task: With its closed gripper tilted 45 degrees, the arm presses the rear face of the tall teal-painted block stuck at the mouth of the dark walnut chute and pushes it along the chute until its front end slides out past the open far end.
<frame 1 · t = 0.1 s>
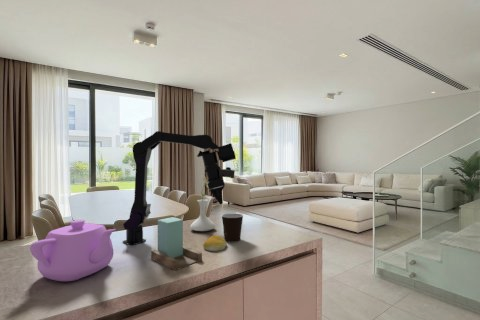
hand: (221, 202, 107), 15 cm above the counter, tool pointing down, fingers open, 9 cm apart
walnut chute: (176, 259, 86), on the counter
coffee mug: (233, 239, 108), on the counter
teapot: (79, 272, 77), on the counter
teal block: (170, 237, 88), point 6 cm above the counter, slide at 0.0 cm
bread roll: (214, 248, 98), on the counter
flower in vase: (202, 229, 122), on the counter
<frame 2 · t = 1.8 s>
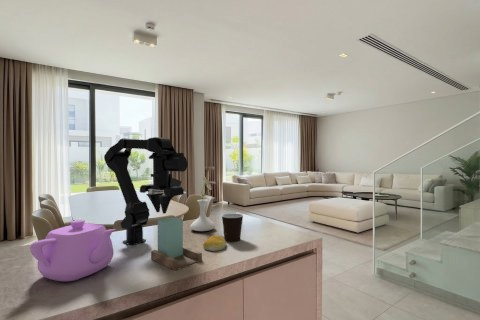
hand: (161, 212, 97), 13 cm above the counter, tool pointing down, fingers open, 3 cm apart
nothing on the counter moved.
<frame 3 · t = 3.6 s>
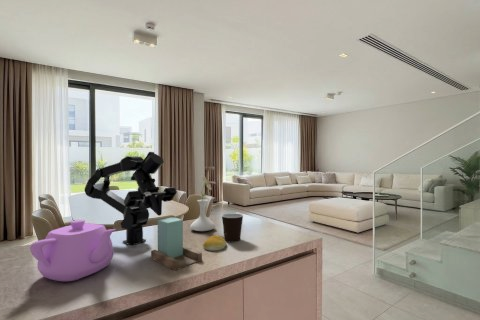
hand: (160, 214, 93), 13 cm above the counter, tool tilted 45°, fingers closed
nothing on the counter moved.
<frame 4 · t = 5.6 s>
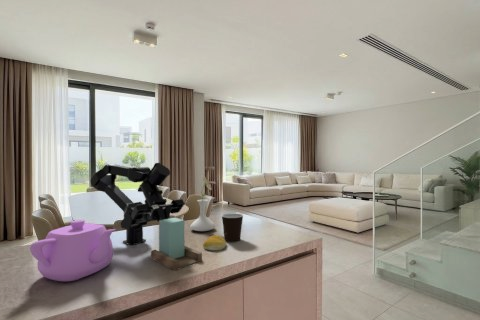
hand: (168, 228, 90), 9 cm above the counter, tool tilted 45°, fingers closed, pressing on teal block
teal block: (171, 238, 88), point 6 cm above the counter, slide at 0.9 cm, touching gripper
everything else where it was.
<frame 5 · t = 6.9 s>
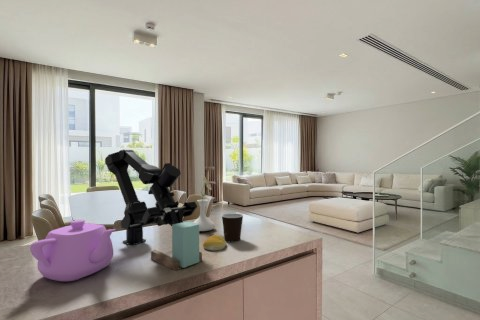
hand: (181, 232, 85), 9 cm above the counter, tool tilted 45°, fingers closed, pressing on teal block
teal block: (185, 243, 82), point 6 cm above the counter, slide at 8.9 cm, touching gripper
everything else where it was.
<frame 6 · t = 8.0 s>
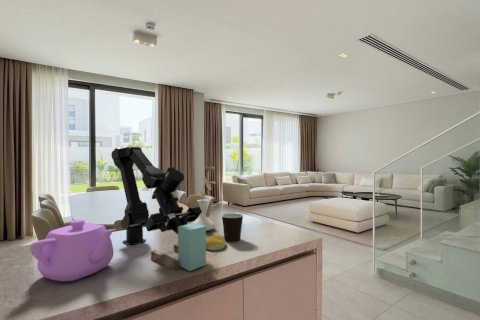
hand: (185, 239, 82), 8 cm above the counter, tool tilted 45°, fingers closed, pressing on teal block
teal block: (192, 245, 80), point 6 cm above the counter, slide at 12.2 cm, touching gripper
everything else where it was.
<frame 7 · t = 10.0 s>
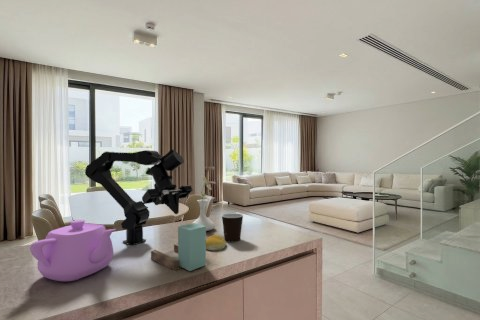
hand: (177, 213, 94), 13 cm above the counter, tool tilted 40°, fingers closed
teal block: (192, 245, 80), point 6 cm above the counter, slide at 12.2 cm
everything else where it was.
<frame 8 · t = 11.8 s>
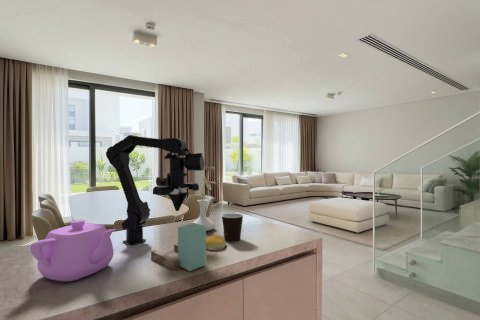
hand: (177, 210, 101), 13 cm above the counter, tool pointing down, fingers closed
nothing on the counter moved.
at the end: teal block slide at 12.2 cm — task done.
